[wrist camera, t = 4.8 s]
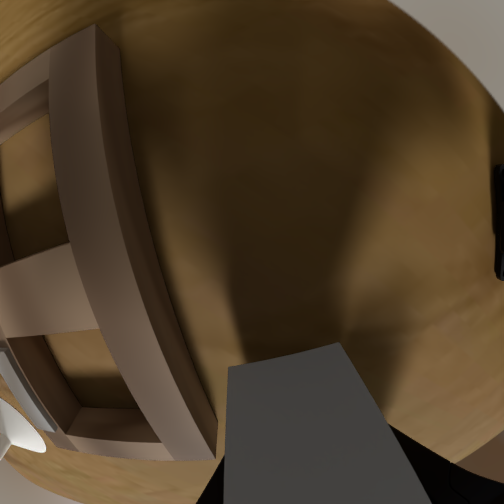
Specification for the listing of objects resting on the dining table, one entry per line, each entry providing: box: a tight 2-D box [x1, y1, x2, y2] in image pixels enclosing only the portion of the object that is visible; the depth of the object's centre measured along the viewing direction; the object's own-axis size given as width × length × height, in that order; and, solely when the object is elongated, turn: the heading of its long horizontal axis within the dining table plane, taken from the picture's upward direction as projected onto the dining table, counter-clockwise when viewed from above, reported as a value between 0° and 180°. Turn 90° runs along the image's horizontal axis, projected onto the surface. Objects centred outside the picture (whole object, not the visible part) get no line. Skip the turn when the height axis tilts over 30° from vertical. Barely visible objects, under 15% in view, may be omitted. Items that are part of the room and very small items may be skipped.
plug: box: [223, 342, 432, 504], centre depth 5 cm, size 4×4×9 cm
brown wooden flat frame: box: [0, 24, 218, 461], centre depth 9 cm, size 10×18×3 cm, turn 12°
